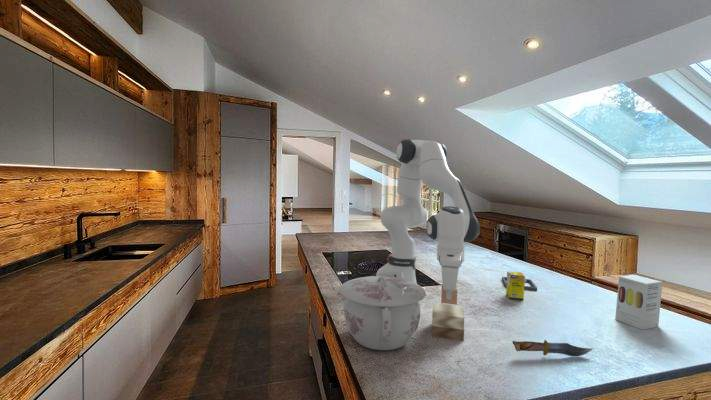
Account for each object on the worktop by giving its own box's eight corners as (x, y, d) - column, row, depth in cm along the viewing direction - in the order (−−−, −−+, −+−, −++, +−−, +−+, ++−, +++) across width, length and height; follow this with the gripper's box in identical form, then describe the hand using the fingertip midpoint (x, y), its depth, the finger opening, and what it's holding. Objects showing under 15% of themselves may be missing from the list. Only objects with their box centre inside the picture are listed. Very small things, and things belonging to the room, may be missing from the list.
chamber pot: (372, 314, 126) (373, 261, 124) (439, 337, 108) (441, 275, 107) (319, 342, 104) (319, 277, 103) (392, 376, 87) (394, 299, 85)
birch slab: (432, 325, 109) (432, 313, 109) (432, 313, 119) (433, 302, 119) (463, 329, 107) (464, 317, 106) (462, 317, 116) (462, 306, 116)
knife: (591, 355, 99) (592, 339, 99) (594, 357, 98) (595, 341, 97) (510, 355, 98) (511, 339, 98) (512, 357, 97) (513, 341, 97)
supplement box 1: (523, 300, 143) (525, 275, 143) (509, 299, 145) (510, 274, 144) (519, 295, 149) (521, 271, 148) (505, 294, 150) (506, 271, 150)
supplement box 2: (614, 319, 125) (617, 275, 124) (629, 316, 128) (633, 273, 127) (643, 330, 116) (647, 283, 115) (659, 326, 120) (663, 281, 118)
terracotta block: (441, 302, 110) (441, 288, 110) (441, 297, 115) (442, 283, 115) (456, 304, 109) (457, 289, 109) (456, 299, 114) (457, 285, 113)
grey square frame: (505, 287, 160) (505, 284, 160) (501, 279, 173) (502, 276, 173) (537, 290, 156) (537, 287, 156) (530, 282, 169) (530, 279, 169)
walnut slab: (431, 337, 109) (432, 325, 109) (433, 324, 119) (433, 313, 119) (463, 342, 107) (464, 330, 106) (462, 328, 116) (462, 317, 116)
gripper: (441, 248, 122) (440, 285, 123) (439, 261, 102) (438, 305, 103) (459, 249, 120) (458, 287, 121) (460, 263, 100) (459, 307, 101)
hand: (449, 295), depth 112 cm, fingers closed on terracotta block, 5 cm apart
